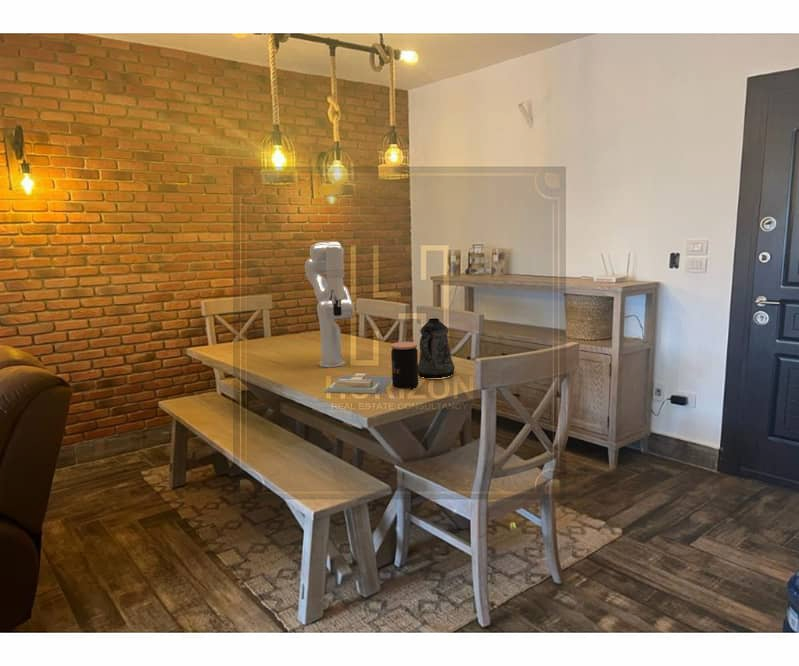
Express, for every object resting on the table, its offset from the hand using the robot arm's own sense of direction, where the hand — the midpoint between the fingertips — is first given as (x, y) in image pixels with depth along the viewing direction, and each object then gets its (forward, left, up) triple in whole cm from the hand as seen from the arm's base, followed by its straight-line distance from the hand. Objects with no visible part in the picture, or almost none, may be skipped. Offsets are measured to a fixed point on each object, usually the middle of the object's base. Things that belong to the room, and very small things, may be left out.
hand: (337, 315), depth 257 cm
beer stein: (-2, +43, -27) cm, 51 cm away
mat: (+18, +14, -27) cm, 35 cm away
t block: (+22, +14, -26) cm, 37 cm away
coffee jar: (+17, +33, -27) cm, 46 cm away
